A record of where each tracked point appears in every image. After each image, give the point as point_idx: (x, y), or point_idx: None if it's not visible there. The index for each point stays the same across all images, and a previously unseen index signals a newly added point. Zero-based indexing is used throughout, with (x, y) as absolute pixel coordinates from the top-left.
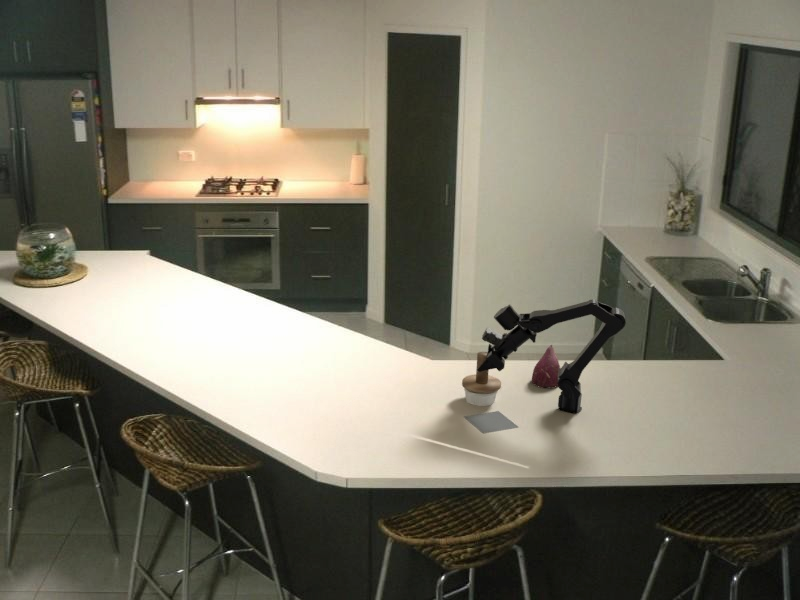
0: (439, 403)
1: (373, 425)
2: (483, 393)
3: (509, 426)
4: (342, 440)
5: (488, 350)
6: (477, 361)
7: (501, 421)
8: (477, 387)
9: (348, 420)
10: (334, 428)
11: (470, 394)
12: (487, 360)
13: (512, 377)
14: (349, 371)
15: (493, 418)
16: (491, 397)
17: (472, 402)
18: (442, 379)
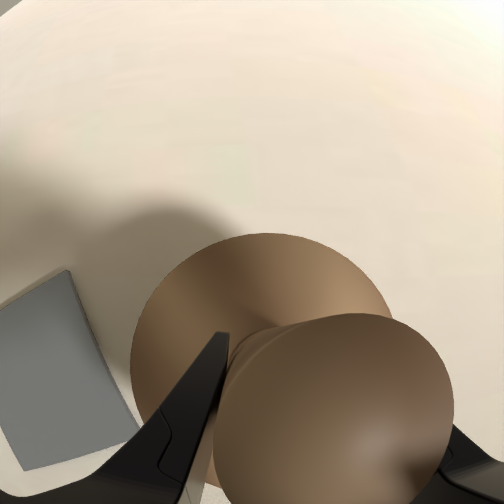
0: (211, 172)
1: (66, 43)
2: None
3: (18, 441)
4: (25, 29)
5: (469, 494)
6: (277, 329)
7: (45, 424)
8: (160, 338)
9: (103, 7)
10: (74, 4)
11: None
12: (106, 485)
13: (494, 447)
14: (384, 3)
15: (62, 399)
16: None
17: None
18: (446, 194)
